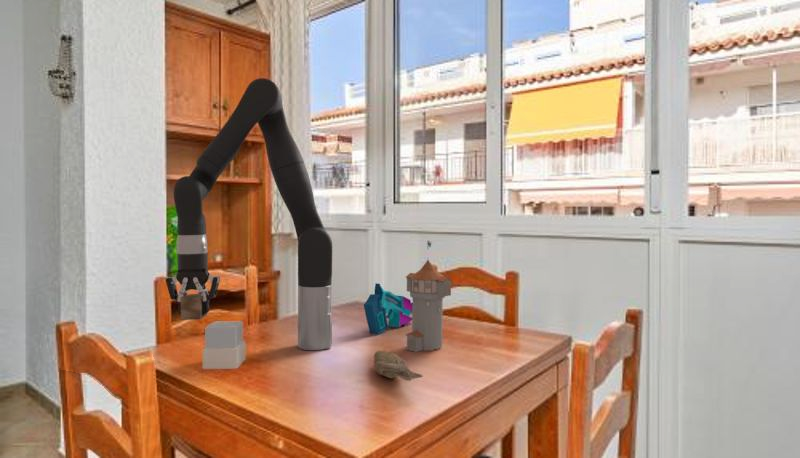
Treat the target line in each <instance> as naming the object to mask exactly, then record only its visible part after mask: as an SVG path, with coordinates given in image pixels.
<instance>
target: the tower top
mask: <svg viewBox="0 0 800 458" xmlns="http://www.w3.org/2000/svg"><path fill="white" fill-rule="evenodd" d="M243 324H244V323H243V321H242V320H236V321H235V320H233V321H232V320H229V321H228V320H227V321H226V320H225V321H223V320H222V321H220V320H219V321H217V320H216V321H212V322H211V323H210V324H208V325H206V326H205V328H204V335H205V336H204V338H205V339H204V345H205V347H204V348H236V347H237V346H238V345H239V344H240V343H241V342H242V341H244V340H243V339H244V337H243V335H244V333H243V331H244V330H243Z"/></svg>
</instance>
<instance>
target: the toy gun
mask: <svg viewBox="0 0 800 458" xmlns="http://www.w3.org/2000/svg"><path fill="white" fill-rule="evenodd" d="M412 306H413V301H412V302H411V299H409V298H407V297H405V296H403V295H396V294H394V293H392V292H391V291H387V290H384V288H383V287H382V286H381V284H380V283H375V285H374V294H372V293H371V294H369V296H368V298H367V300H366V301H365V302H364V303H363V307H364V308H363V309H364V313H365V318H366V322H367V327H368V330H369V334H370V333H371V334H372V335H376V334H377V335H378V336H379V335H381V334H382V333H384V332H386V331H387V330H389V328H388V327H393V328H398V327H399V328H401V327H403V326H402V325H407V326H408V325H409V324H410V322H412V316H411V315H412Z"/></svg>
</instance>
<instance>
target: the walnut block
mask: <svg viewBox="0 0 800 458" xmlns="http://www.w3.org/2000/svg"><path fill="white" fill-rule="evenodd" d="M202 301H203V300H202V296H200V294H199V293H187V295H185V296H182V297H181V314H180V319H181V321H183V320H184V321H185V320H186V321H189V320H190V321H194V320H202V319H203V318H205V317H207V315H208V313H207V314H206V315H202Z"/></svg>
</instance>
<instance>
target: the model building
mask: <svg viewBox="0 0 800 458" xmlns="http://www.w3.org/2000/svg"><path fill="white" fill-rule="evenodd" d="M431 247H432V241H430V240H427V248H431ZM405 278H406V292H409V296H410V297H411V298H412V303H413V306H412V314H411V315H412V316H411V318H412V320H411V322H412V325H411V326H412V328H411V332H409V333H407V334H405V336H406V350H407V351H411V352H415V353H417V352H421V351H435V350H434V349H438V348H441V347H443V316H444V310H443V300H444V298H445V297H449V296H452V293H451V292H452V282H453V279H451V278H450V277H448V276H444V275H443V274H441V273H440V272H439V271H437V270H436V268H435V267H434V266H433V265H432V262H430V260H429V259H427V260H426V262H425V263H424V265H423V266H422V267H421V268H420V269H419V270H418V271H416V272H409V273H408V274H407V275H406V276H405ZM441 349H442V348H441ZM438 350H439V349H438Z"/></svg>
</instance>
